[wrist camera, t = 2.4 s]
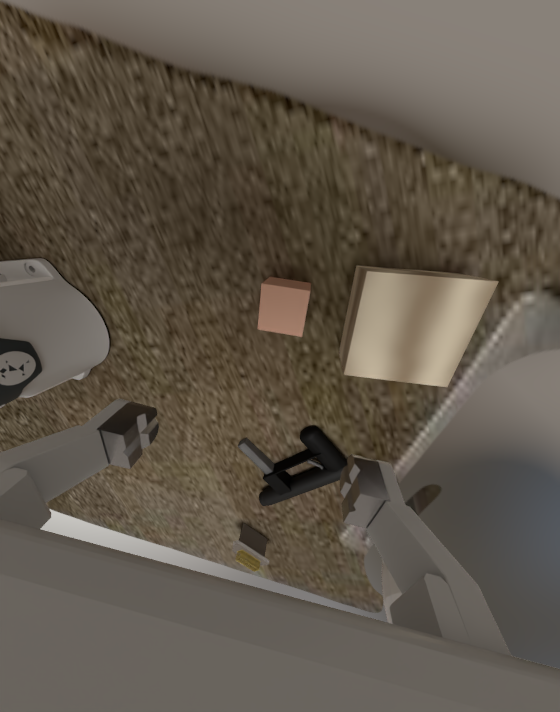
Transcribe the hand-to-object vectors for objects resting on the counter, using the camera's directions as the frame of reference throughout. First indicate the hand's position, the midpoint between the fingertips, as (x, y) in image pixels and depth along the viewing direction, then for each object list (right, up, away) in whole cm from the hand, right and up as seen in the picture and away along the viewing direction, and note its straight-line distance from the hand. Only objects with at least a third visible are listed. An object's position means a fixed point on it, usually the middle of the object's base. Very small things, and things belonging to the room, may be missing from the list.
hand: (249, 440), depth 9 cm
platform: (-5, -39, +46) cm, 60 cm away
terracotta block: (+2, +10, +19) cm, 22 cm away
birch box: (+15, +8, +18) cm, 25 cm away
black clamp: (+2, -15, +33) cm, 36 cm away
